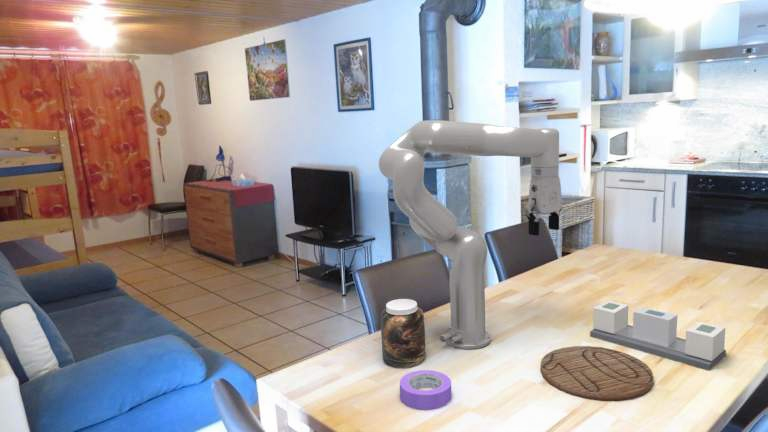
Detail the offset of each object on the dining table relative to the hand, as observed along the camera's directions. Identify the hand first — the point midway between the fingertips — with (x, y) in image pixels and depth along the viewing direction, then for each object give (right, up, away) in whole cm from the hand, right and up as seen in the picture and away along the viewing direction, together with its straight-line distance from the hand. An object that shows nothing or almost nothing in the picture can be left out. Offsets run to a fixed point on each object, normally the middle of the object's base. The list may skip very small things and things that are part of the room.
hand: (543, 232), depth 156 cm
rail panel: (+25, -30, -13) cm, 41 cm away
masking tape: (-36, -37, -32) cm, 61 cm away
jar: (-41, -33, -13) cm, 54 cm away
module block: (+25, -28, -13) cm, 40 cm away
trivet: (+4, -34, -26) cm, 43 cm away
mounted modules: (+25, -28, -13) cm, 40 cm away
